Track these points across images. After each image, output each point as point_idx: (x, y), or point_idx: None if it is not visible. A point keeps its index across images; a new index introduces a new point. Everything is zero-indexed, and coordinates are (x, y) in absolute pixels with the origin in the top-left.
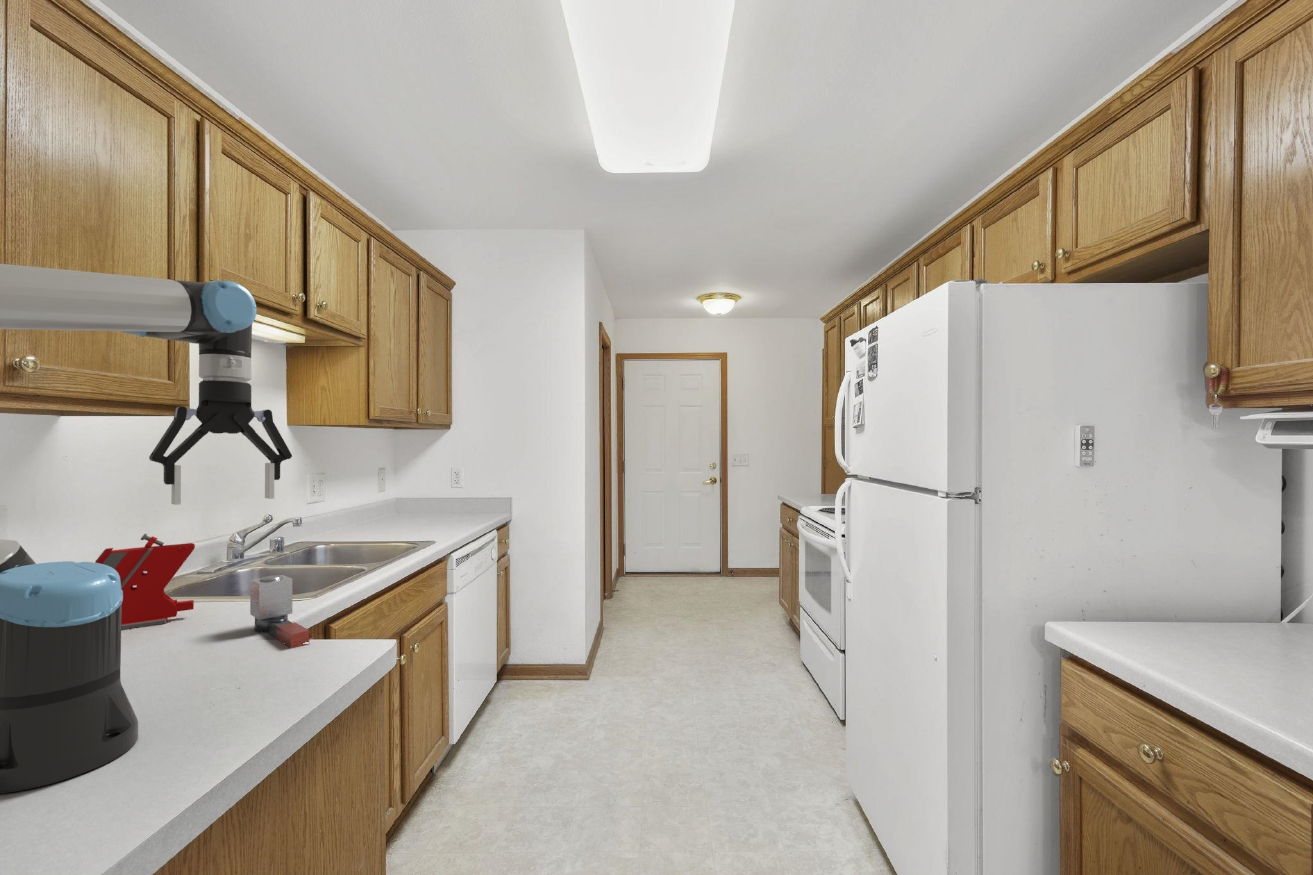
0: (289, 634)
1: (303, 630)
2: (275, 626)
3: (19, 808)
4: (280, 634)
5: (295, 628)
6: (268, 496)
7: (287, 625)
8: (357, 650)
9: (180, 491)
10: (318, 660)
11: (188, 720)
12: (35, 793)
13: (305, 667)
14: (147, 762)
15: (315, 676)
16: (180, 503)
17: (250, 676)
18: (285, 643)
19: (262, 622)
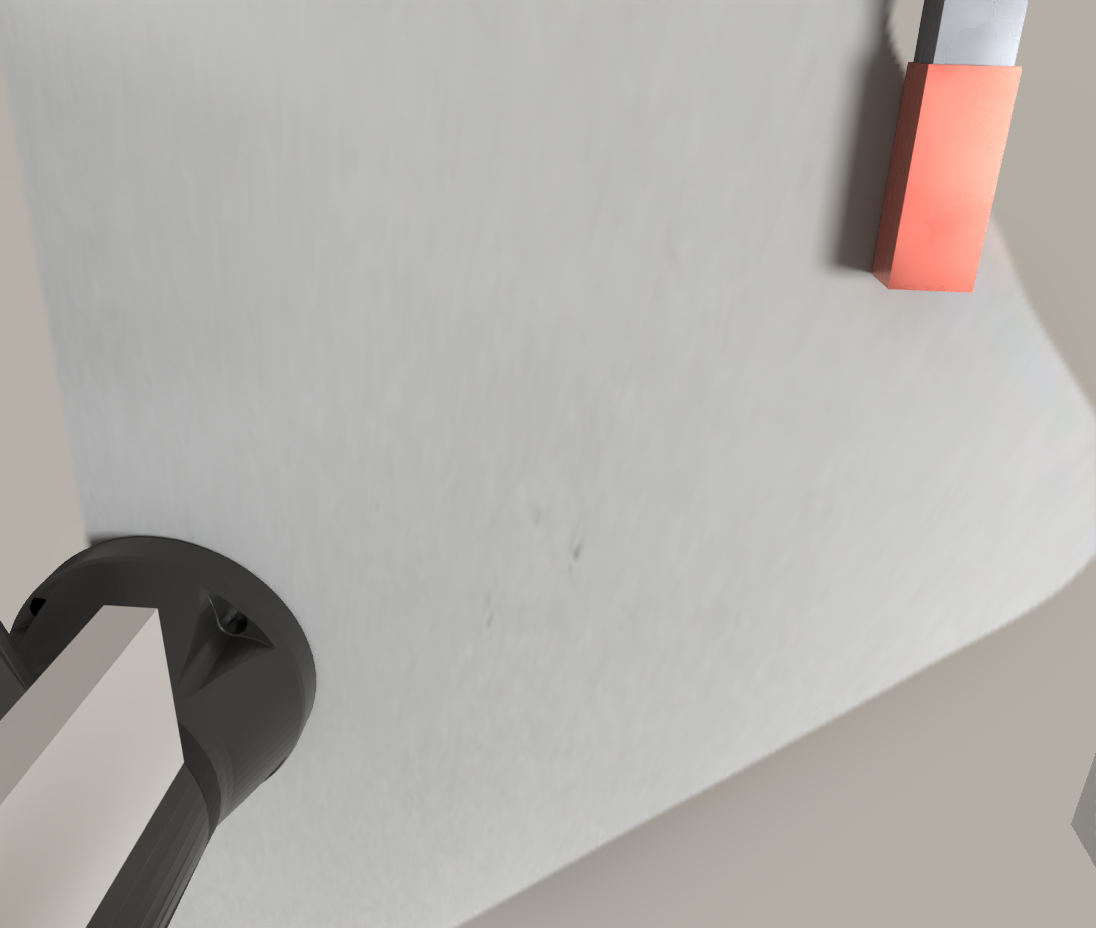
0: (890, 269)
1: (956, 270)
2: (939, 16)
3: None
4: (907, 127)
5: (955, 199)
6: (1093, 814)
7: (964, 102)
8: (1002, 516)
9: (111, 880)
10: (854, 506)
11: (420, 671)
12: None
13: (789, 538)
14: (323, 806)
15: (767, 638)
16: (178, 768)
17: (635, 478)
18: (885, 201)
19: None
